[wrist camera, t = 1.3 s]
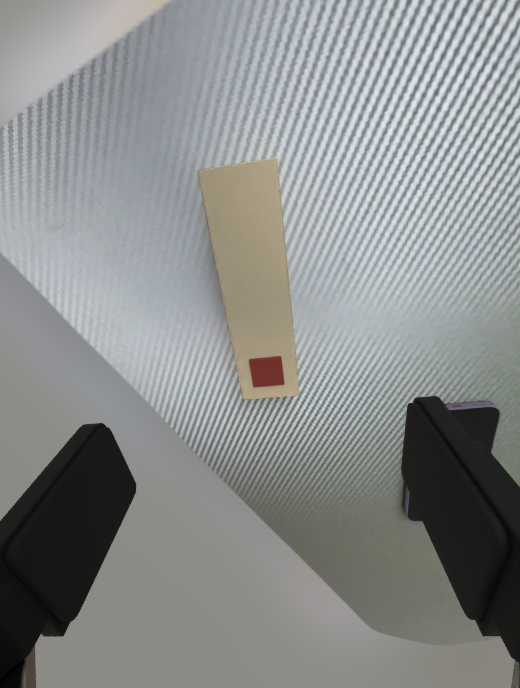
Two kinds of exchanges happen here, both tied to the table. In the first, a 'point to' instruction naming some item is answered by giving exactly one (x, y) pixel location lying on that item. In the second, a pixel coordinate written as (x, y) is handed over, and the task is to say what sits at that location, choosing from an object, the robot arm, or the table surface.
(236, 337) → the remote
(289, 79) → the table surface
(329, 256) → the table surface
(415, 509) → the smartphone
